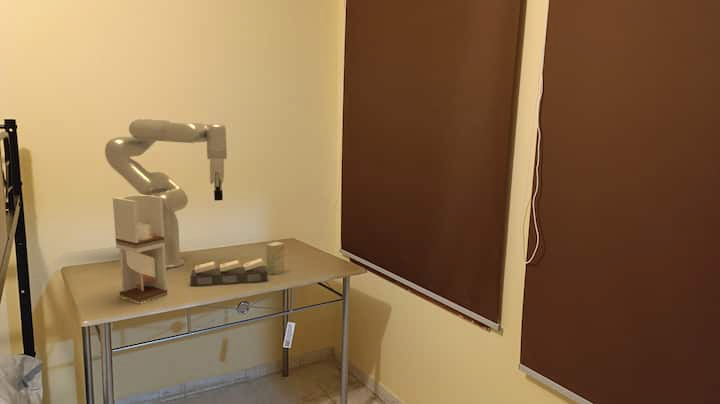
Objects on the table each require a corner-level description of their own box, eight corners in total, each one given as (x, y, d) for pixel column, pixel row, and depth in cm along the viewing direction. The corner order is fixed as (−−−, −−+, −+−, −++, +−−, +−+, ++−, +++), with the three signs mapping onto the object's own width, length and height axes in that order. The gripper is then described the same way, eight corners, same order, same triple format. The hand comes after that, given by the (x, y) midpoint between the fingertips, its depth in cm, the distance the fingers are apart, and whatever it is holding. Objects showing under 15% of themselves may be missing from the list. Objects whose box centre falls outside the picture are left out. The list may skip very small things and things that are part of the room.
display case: (119, 297, 165) (112, 198, 159) (147, 288, 174) (141, 194, 168) (139, 304, 159) (133, 201, 154) (167, 294, 168) (162, 197, 162)
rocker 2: (245, 271, 183) (243, 266, 182) (245, 267, 187) (243, 263, 187) (263, 264, 184) (261, 260, 184) (262, 261, 188) (261, 257, 188)
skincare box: (274, 275, 191) (274, 246, 189) (266, 273, 194) (265, 244, 192) (284, 271, 197) (284, 242, 195) (276, 269, 199) (276, 241, 197)
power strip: (190, 286, 177) (190, 275, 176) (192, 279, 185) (192, 269, 184) (267, 281, 183) (267, 271, 183) (266, 275, 191) (266, 264, 191)
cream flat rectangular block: (220, 271, 181) (219, 267, 180) (221, 268, 185) (219, 264, 184) (239, 267, 182) (238, 262, 182) (239, 263, 186) (238, 259, 186)
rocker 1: (195, 273, 178) (194, 268, 178) (196, 269, 183) (195, 265, 182) (214, 268, 180) (213, 264, 179) (215, 265, 184) (214, 260, 184)
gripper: (208, 154, 198) (210, 197, 201) (206, 156, 184) (207, 203, 187) (227, 154, 200) (228, 197, 203) (226, 156, 185) (227, 202, 188)
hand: (218, 200), depth 195 cm, fingers closed
